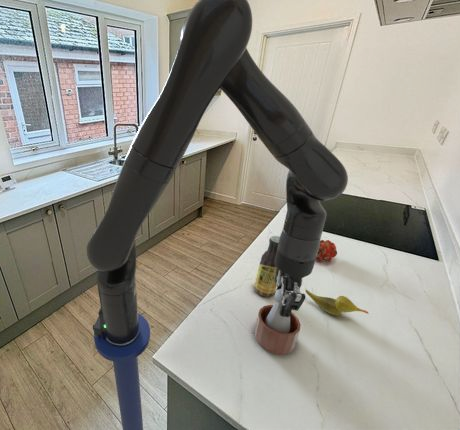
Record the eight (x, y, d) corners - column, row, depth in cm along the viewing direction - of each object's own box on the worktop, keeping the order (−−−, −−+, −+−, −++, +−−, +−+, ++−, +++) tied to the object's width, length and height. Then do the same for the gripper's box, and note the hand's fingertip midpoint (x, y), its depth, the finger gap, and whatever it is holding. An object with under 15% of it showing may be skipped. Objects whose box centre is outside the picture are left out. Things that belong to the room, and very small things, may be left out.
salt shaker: (285, 344, 64) (296, 305, 58) (261, 333, 67) (269, 295, 62) (290, 328, 68) (301, 290, 63) (267, 318, 71) (276, 281, 66)
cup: (257, 351, 66) (262, 332, 63) (251, 321, 74) (255, 302, 71) (299, 357, 64) (306, 338, 61) (288, 325, 72) (293, 307, 69)
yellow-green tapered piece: (361, 331, 70) (369, 313, 67) (300, 303, 79) (305, 287, 76) (363, 321, 73) (371, 303, 70) (304, 295, 82) (309, 279, 79)
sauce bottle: (254, 295, 83) (264, 242, 74) (253, 283, 88) (262, 232, 79) (276, 300, 81) (289, 246, 72) (274, 286, 86) (286, 235, 78)
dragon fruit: (308, 267, 97) (321, 259, 104) (334, 264, 90) (346, 256, 97) (300, 245, 98) (313, 238, 105) (324, 241, 91) (337, 234, 98)
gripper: (271, 232, 64) (260, 286, 71) (287, 268, 51) (271, 329, 59) (304, 234, 62) (290, 289, 70) (329, 272, 50) (308, 334, 57)
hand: (281, 307), depth 64 cm, fingers closed on salt shaker, 4 cm apart
